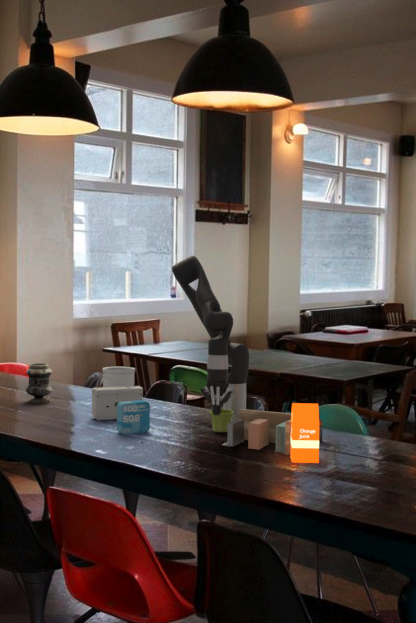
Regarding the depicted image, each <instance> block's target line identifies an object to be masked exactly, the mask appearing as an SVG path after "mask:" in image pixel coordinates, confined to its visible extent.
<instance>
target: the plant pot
mask: <svg viewBox="0 0 416 623" xmlns="http://www.w3.org/2000/svg"><path fill="white" fill-rule="evenodd" d="M212 411H213V409H212V410H209V414H210V418H211V426H212V431H213V432H216V433H228V423H231V417H232V414H233V413H234V412H233V411H231V410H225V409H222V408H221V414H220V415H218V416H217V415H214V413H213V412H212Z"/></svg>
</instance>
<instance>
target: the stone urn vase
mask: <svg viewBox="0 0 416 623" xmlns="http://www.w3.org/2000/svg"><path fill="white" fill-rule="evenodd" d="M52 374H53V371H52V369H51V368H50V366H49V363H46V362H31V363H30V364H29V368H28V369H27V370H26V375H27V376H28V385H27V386H26V388H25V392H26V393H27V394H28V395H29V396H31V397H34V398H31V399H29V400H28V401H27V402H28V403H29V402H30V403H29V404H46V403H49V402H51V401H50V399H47V398H45V397H46V396H48V395H50V394H51V393H52V391H53V389H52V387H51V386H50V376H51V375H52Z"/></svg>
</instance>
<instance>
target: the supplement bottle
mask: <svg viewBox="0 0 416 623" xmlns="http://www.w3.org/2000/svg"><path fill="white" fill-rule="evenodd" d="M322 442H323V420H322V419H321V413H319V444H321V443H322Z"/></svg>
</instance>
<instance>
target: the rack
mask: <svg viewBox="0 0 416 623" xmlns="http://www.w3.org/2000/svg"><path fill="white" fill-rule="evenodd" d="M291 413H292V412H291ZM291 413H290V412H277V411H268V410H267V411H265V410H256V409H247V408H246V409H239V419H243V420H244V441H248V424H249V423H250V422H252V421H254V420H257V419H266V420H269V443H273V444H276V426H277V425H279V424H281V423H284V422H286V421H287V422H286V428H285V453H282V452H281V455H287V456H289V455H291Z"/></svg>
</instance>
